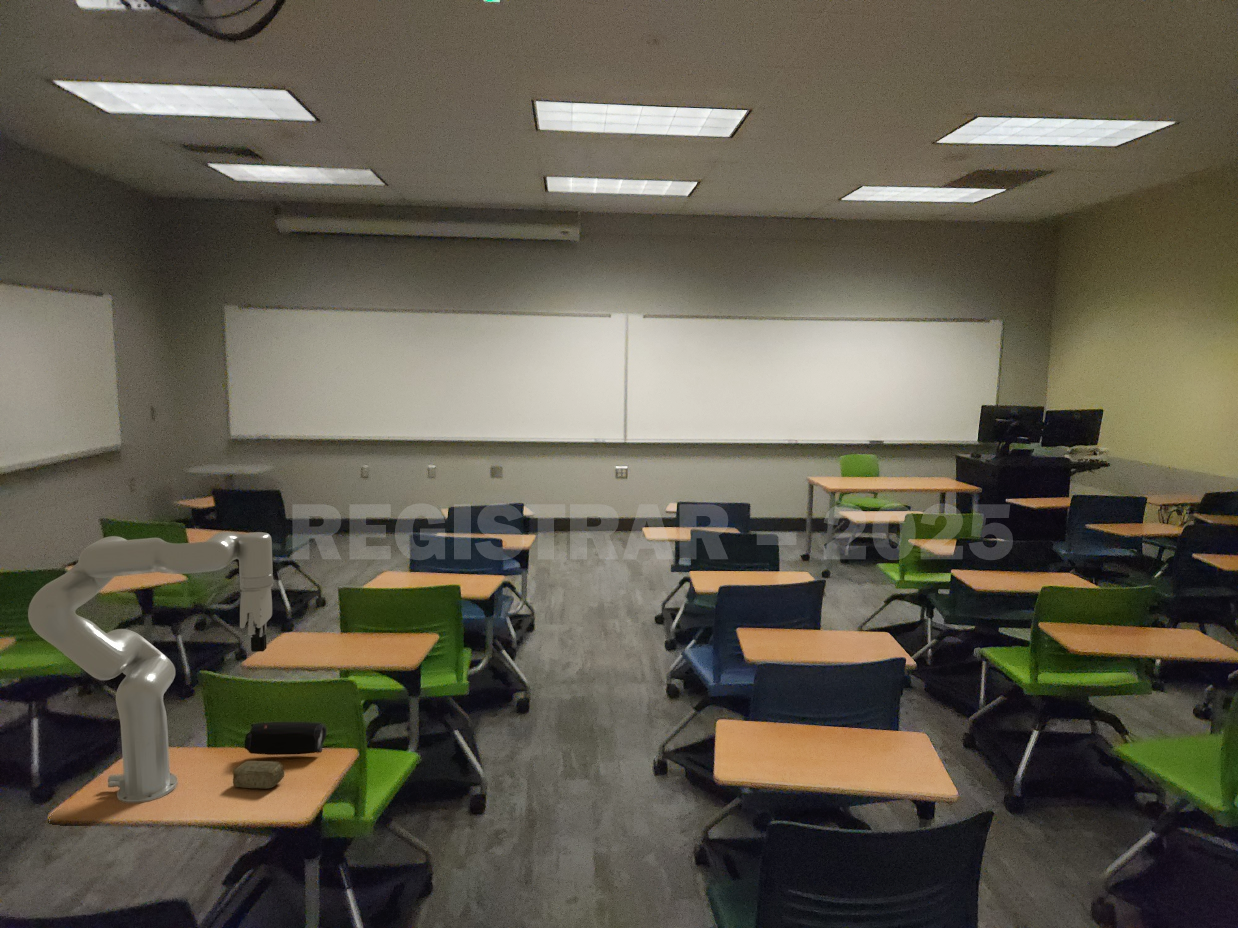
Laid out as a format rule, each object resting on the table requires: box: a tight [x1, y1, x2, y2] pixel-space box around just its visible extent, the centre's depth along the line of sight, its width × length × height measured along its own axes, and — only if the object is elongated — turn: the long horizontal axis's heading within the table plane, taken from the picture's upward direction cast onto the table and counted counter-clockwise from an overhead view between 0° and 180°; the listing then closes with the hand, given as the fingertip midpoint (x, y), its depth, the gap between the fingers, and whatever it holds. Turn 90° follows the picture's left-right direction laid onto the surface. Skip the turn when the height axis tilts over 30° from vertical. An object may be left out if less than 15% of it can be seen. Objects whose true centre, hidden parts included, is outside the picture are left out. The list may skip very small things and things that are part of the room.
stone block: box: [232, 760, 285, 789], centre depth 179 cm, size 6×12×5 cm, turn 83°
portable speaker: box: [243, 721, 328, 756], centre depth 195 cm, size 9×9×20 cm
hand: (258, 650), depth 179 cm, fingers closed
